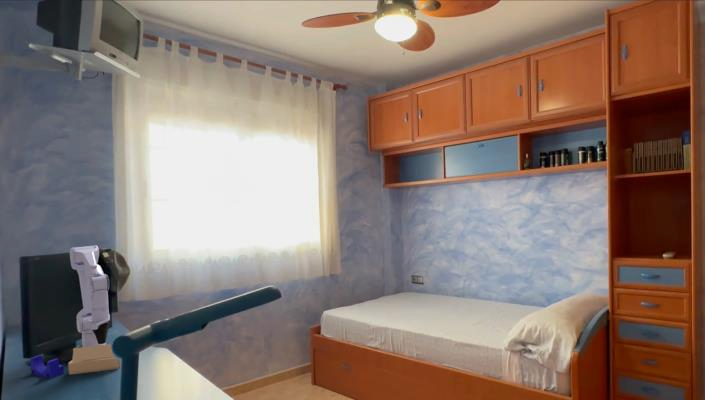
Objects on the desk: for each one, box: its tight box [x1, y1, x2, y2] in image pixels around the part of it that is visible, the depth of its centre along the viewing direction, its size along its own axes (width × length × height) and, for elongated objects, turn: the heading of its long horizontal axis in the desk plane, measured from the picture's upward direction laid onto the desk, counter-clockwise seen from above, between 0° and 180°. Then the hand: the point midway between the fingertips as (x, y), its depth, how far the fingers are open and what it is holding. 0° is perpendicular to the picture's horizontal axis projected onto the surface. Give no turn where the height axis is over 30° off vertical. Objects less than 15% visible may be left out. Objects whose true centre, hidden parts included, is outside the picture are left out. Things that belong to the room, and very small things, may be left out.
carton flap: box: [71, 343, 114, 362], centre depth 156 cm, size 4×14×1 cm
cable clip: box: [29, 354, 65, 379], centre depth 155 cm, size 12×4×6 cm, turn 63°
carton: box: [67, 357, 121, 375], centre depth 162 cm, size 14×17×4 cm
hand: (101, 343), depth 163 cm, fingers closed
